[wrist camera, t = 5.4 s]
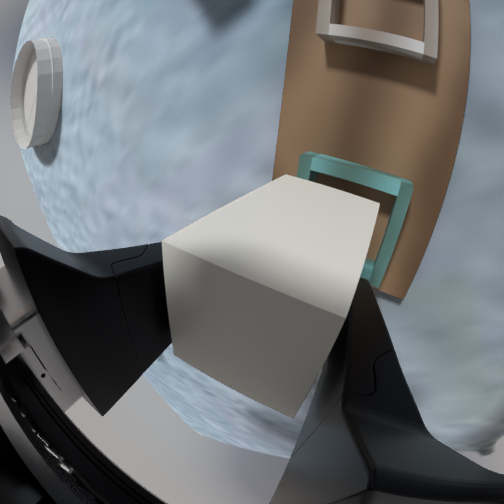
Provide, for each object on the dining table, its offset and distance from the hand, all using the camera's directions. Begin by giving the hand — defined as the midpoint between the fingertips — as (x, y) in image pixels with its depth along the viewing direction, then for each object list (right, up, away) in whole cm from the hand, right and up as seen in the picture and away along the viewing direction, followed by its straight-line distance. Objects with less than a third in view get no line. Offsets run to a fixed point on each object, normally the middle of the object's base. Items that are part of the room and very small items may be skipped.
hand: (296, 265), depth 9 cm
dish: (-41, +31, +25) cm, 57 cm away
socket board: (+7, +10, +6) cm, 14 cm away
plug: (+1, +1, +2) cm, 3 cm away
